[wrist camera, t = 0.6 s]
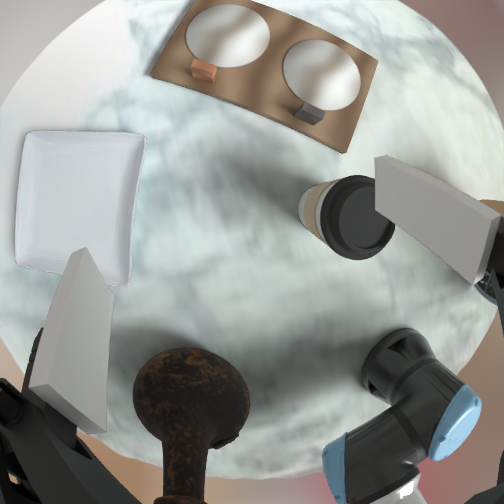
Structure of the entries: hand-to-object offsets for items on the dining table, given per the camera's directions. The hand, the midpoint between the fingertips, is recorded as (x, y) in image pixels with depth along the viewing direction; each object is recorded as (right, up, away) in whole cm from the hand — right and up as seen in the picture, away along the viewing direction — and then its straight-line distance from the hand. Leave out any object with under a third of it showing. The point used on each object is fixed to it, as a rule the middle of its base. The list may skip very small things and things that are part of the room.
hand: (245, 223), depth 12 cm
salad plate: (-26, +6, +26) cm, 37 cm away
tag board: (+3, +27, +24) cm, 36 cm away
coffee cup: (+10, +5, +30) cm, 32 cm away
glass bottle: (-10, -22, +34) cm, 41 cm away
